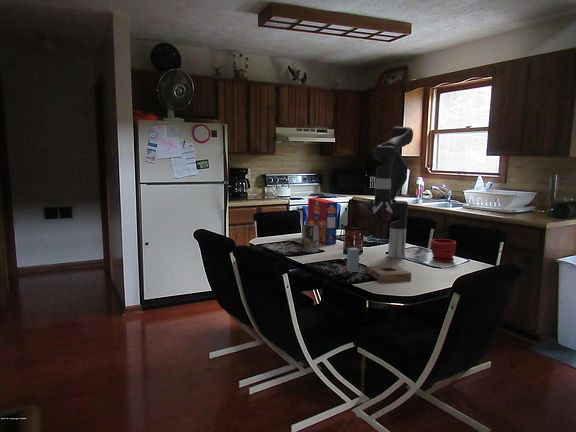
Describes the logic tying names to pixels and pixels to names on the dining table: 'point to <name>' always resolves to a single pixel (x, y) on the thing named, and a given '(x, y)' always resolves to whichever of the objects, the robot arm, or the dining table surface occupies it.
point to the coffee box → (310, 238)
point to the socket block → (388, 273)
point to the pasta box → (323, 218)
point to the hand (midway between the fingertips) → (381, 220)
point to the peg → (353, 260)
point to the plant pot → (443, 250)
